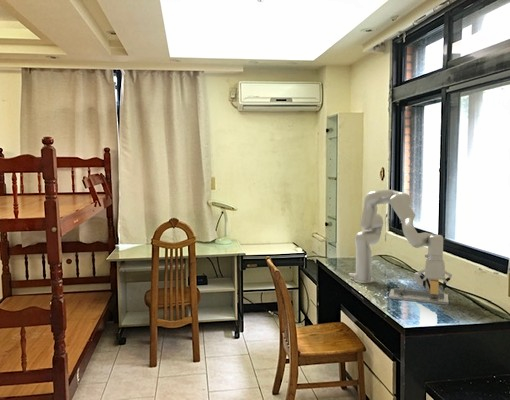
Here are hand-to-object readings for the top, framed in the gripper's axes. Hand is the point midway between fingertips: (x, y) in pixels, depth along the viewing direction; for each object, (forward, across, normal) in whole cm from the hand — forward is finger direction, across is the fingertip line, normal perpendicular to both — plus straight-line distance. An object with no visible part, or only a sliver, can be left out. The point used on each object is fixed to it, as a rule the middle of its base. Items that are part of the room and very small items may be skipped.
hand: (434, 288), depth 237 cm
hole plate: (+6, -8, -1) cm, 10 cm away
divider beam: (+4, -8, 0) cm, 9 cm away
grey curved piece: (+6, -5, +21) cm, 23 cm away
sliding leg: (+4, 0, 0) cm, 4 cm away
